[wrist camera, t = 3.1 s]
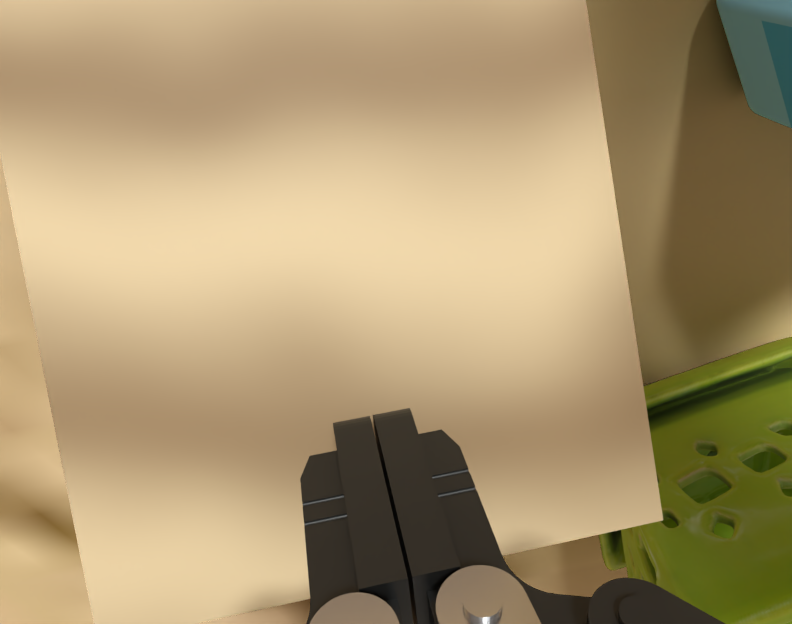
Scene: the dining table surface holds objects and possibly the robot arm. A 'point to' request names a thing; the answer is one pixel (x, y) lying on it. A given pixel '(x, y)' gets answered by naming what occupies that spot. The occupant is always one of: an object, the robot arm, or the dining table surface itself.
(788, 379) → the flower pot
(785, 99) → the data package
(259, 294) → the oak plank
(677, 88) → the dining table surface
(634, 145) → the dining table surface
